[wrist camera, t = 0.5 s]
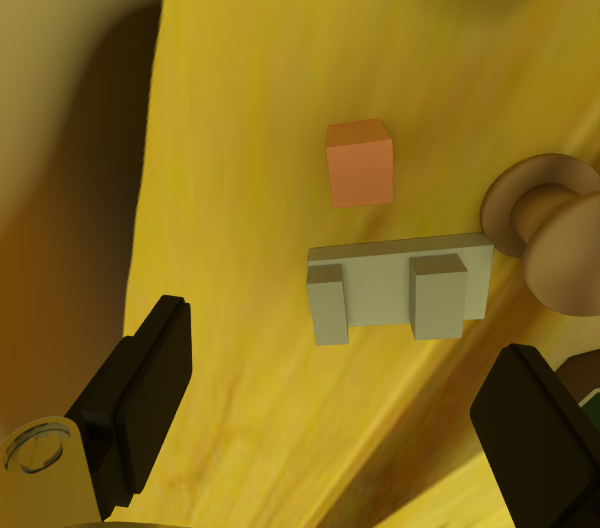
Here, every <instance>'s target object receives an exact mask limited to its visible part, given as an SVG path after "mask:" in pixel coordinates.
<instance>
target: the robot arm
mask: <svg viewBox="0 0 600 528" xmlns="http://www.w3.org/2000/svg"><path fill="white" fill-rule="evenodd" d="M191 375H192V341H191V309H190V304H189V303H185V300H184V298H183V297H177V296H170V295H163V296H162V297H161V298H160V299H159V301H158V302H157V303H156V305H155V306H154V308H153V309H152V311H151V312H150V313H149V315H148V316H147V318H146V319H145V320H144V322H143V323H142V325H141V326H140V327H139V329H138V330H137V332H136V333H135V335H134V336H125V337H124V338H123V339H122V340H121V341H120V342H119V343H118V345H117V346H116V347H115V349H114V350H113V351H112V353H111V354H110V355H109V357H108V358H107V360H106V361H105V362H104V363H103V365H102V366H101V368H100V369H99V370H98V372H97V373H96V374H95V376H94V377H93V378H92V380H91V381H90V382H89V384H88V385H87V386H86V388H85V389H84V390H83V392H82V393H81V395H80V396H79V397H78V398H77V400H76V401H75V402H74V404H73V405H72V406H71V408H70V409H69V411H68V412H67V413H66V415H65V416H64V417H60V416H58V417H57V416H56V417H46V418H42V419H38V420H35V421H33V422H31V423H29V424H27V425H24V426H22V427H21V428H19V429H18V430H17V431H15V432H14V433H12V434H11V435H10V436H9V437H8V438H7V439H6V440H5V441H4V442H3V444H1V446H0V528H190V527H181V526H172V525H163V524H153V523H135V522H105V521H104V520H105V519H107V518H108V517H110V516H111V514H112V512H113V509H114V507H115V506H120V507H128V506H129V504H130V502H131V500H132V497H133V495H134V494H140V493H141V492H142V490H143V489H144V487H145V484H146V482H147V480H148V477H149V475H150V473H151V470H152V468H153V466H154V463H155V461H156V459H157V456H158V454H159V452H160V449H161V447H162V445H163V442H164V440H165V438H166V435H167V433H168V431H169V428H170V426H171V424H172V421H173V419H174V417H175V414H176V412H177V409H178V407H179V405H180V402H181V400H182V398H183V395H184V393H185V391H186V388H187V386H188V384H189V381H190V379H191ZM470 418H471V421H472V423H473V426H474V428H475V431H476V433H477V435H478V438H479V440H480V443H481V445H482V447H483V450H484V452H485V455H486V457H487V459H488V462H489V464H490V467H491V469H492V472H493V474H494V476H495V479H496V481H497V484H498V486H499V488H500V491H501V493H502V496H503V498H504V501H505V503H506V505H507V508H508V510H509V513H510V515H511V517H512V520H513V522H514V525H515V527H516V528H600V433H599V431H598V430H597V429H596V427H595V426H594V425H593V423H592V422H591V421H590V419H589V418H588V417H587V415H586V414H585V413H584V411H583V410H582V409H581V407H580V406H579V405H578V403H577V402H576V401H575V399H574V398H573V397H572V395H571V394H570V393H569V391H568V390H567V389H566V387H565V386H564V385H563V383H562V382H561V381H560V379H559V378H558V377H557V375H556V374H555V373H554V371H553V370H552V369H551V367H550V366H549V365H548V363H547V362H546V361H545V359H544V358H543V357H542V355H541V354H540V353H539V351H538V350H537V349H536V348H535V347H533V346H529V345H522V344H515V343H513V344H510V345H508V347H505V348H503V349H502V350H501V352H500V354H499V356H498V358H497V359H496V361H495V363H494V365H493V367H492V369H491V370H490V372H489V374H488V376H487V378H486V380H485V381H484V383H483V385H482V387H481V389H480V391H479V393H478V394H477V396H476V398H475V400H474V402H473V404H472V405H471V408H470Z"/></svg>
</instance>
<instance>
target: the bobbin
mask: <svg viewBox="0 0 600 528" xmlns="http://www.w3.org/2000/svg"><path fill="white" fill-rule="evenodd" d="M480 224H481V227H482V230H483V232H484V234H485V235H486V236H487V237H488V238H489V239H490V240H491V241H492V243H493V244H494V247H495V248H496V249H498V250H499V251H500V252H502V253H504V254H506V255H508V256H511V257H515V258H522V273H523V277H524V280H525V282H526V284H527V286H528V287H529V289H530V290H531V291H532V292H533V294H534V295H535V296H536V297H537V298H538V300H539V301H540V302H541V303H542V304H543V305H545V306H546V307H548V308H549V309H551V310H553V311H556V312H558V313H561V314H565V315H570V316H597V315H600V177H599V175H598V174H597V173H596V171H595V170H594V169H593V168H592V167H590V166H589V165H588V164H586V163H584V162H582V161H580V160H577V159H575V158H573V157H570V156H567V155H562V154H543V155H538V156H534V157H531V158H528V159H526V160H523V161H521V162H519V163H517V164H515V165H514V166H512V167H511V168H509V169H508V170H506V171H505V172H504V173H503V174H502V175H500V176H499V177H498V178H497V179H496V180H495V182H494V183H493V184H492V185H491V187H490V188H489V190H488V191H487V193H486V195H485V197H484V199H483V202H482V205H481V210H480Z"/></svg>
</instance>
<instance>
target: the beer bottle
mask: <svg viewBox="0 0 600 528" xmlns="http://www.w3.org/2000/svg"><path fill="white" fill-rule="evenodd" d="M555 374H556V375H557V377H558V378H559V379H560V381H561V382H562V383H563V385H564V386H565V387H566V389H567V390H568V391H569V393H570V394H571V395H572V397H573V398H574V399H575V401H576V402H577V403H578V405H579V406H580V407H581V409H582V410H583V411H584V413H585V414H586V415H587V417H588V418H589V419H590V421H591V422H592V423H593V425H594V426H595V427H596V429H597V430H598V431H599V433H600V350H596V351H592V352H588V353H585V354H581V355H577V356H573V357H570V358H569V359H568V360H567V361H566V362H565V363H564V364H563V365H562V366H561V367H560V368H559V369H558V370H557V371H556V372H555Z"/></svg>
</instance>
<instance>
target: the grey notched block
mask: <svg viewBox="0 0 600 528" xmlns="http://www.w3.org/2000/svg"><path fill="white" fill-rule="evenodd" d="M493 251H494V244H493V243H492V241H491V240H490V239H489V238H488V237H487V236H486V235H485V234H484V232H481V233H470V234H460V235H449V236H438V237H428V238H417V239H407V240H396V241H386V242H375V243H365V244H354V245H343V246H333V247H322V248H312V249H309V257H308V265H309V268H308V276H307V290H308V296H309V302H310V308H311V314H312V320H313V326H314V332H315V337H316V343H317V346H321V345H340V344H349V338H348V327H356V326H372V325H388V324H404V323H410V324H411V327H412V331H413V334H414V338H415V340H431V339H450V338H462V328H463V320H470V319H484V317H485V310H486V302H487V295H488V288H489V280H490V273H491V266H492V258H493Z"/></svg>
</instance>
